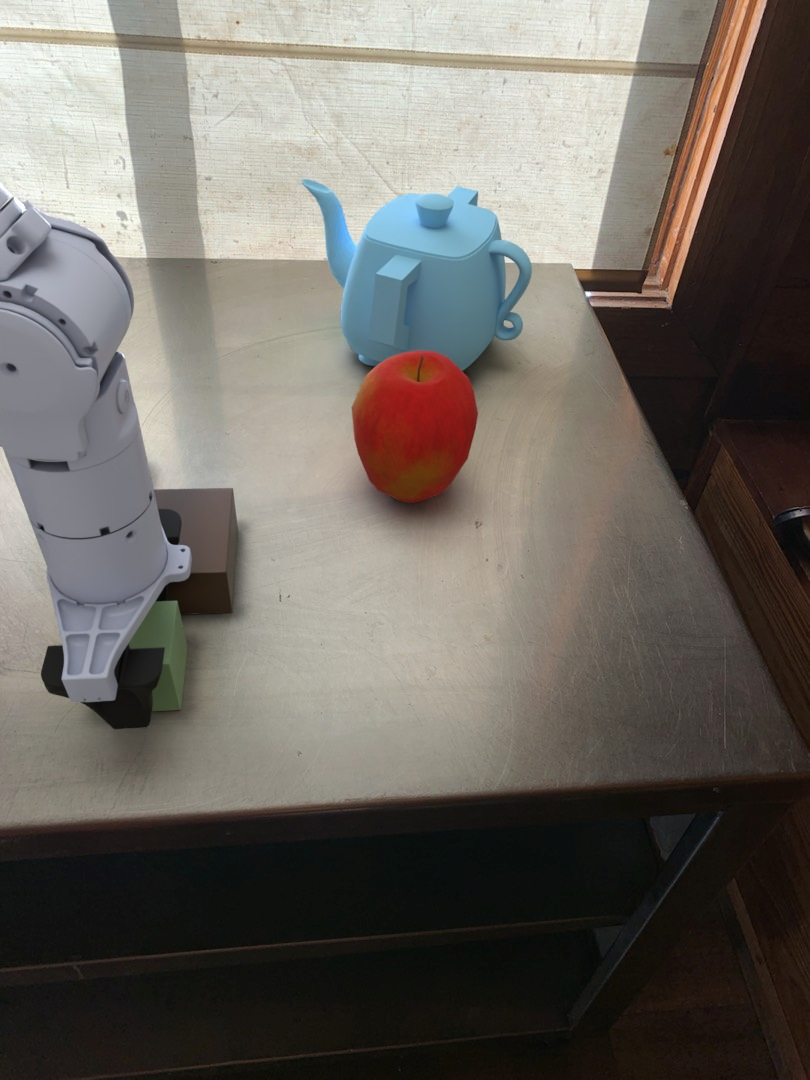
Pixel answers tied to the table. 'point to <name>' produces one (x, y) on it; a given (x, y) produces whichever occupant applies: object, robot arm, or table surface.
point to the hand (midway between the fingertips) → (140, 666)
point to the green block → (165, 652)
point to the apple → (414, 424)
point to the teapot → (423, 276)
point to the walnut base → (204, 547)
